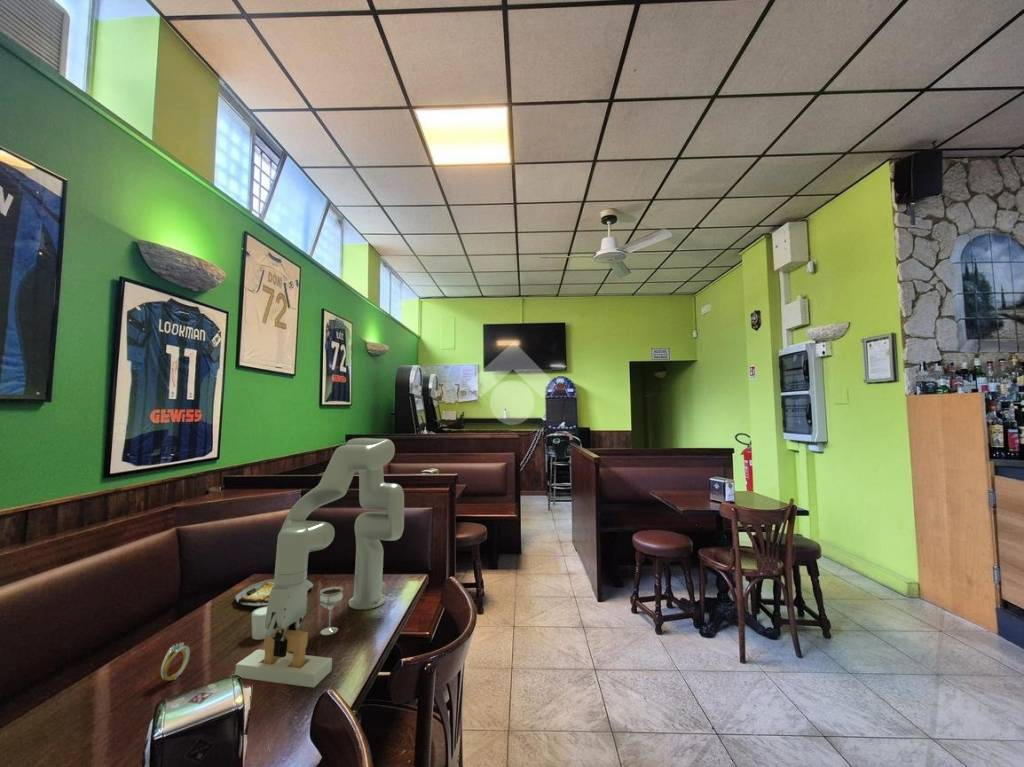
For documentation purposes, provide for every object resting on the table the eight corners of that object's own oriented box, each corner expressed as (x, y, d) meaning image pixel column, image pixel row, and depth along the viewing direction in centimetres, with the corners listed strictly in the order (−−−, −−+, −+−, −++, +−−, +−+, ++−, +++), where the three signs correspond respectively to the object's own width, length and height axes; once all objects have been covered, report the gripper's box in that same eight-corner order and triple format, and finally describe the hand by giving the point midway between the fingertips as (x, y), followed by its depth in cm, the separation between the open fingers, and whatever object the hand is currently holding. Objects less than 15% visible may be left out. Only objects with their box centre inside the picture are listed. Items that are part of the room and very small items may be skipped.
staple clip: (271, 660, 105) (273, 628, 106) (305, 664, 104) (308, 631, 105) (262, 667, 102) (265, 633, 103) (297, 671, 101) (300, 637, 102)
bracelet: (181, 670, 104) (185, 637, 105) (192, 671, 103) (195, 638, 104) (154, 687, 97) (158, 651, 98) (165, 688, 97) (169, 652, 97)
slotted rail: (256, 661, 108) (257, 649, 109) (331, 670, 105) (332, 658, 105) (234, 677, 101) (236, 664, 102) (314, 687, 98) (314, 674, 98)
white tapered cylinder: (263, 642, 118) (265, 616, 119) (243, 639, 119) (246, 614, 120) (281, 630, 125) (283, 606, 125) (262, 628, 126) (264, 604, 127)
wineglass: (325, 638, 120) (328, 596, 122) (312, 632, 124) (315, 591, 125) (345, 629, 126) (348, 589, 127) (332, 623, 129) (335, 584, 131)
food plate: (285, 612, 137) (286, 601, 138) (218, 610, 138) (219, 600, 138) (321, 584, 162) (322, 575, 162) (265, 582, 163) (265, 573, 163)
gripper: (299, 566, 114) (294, 635, 112) (253, 587, 98) (246, 669, 96) (323, 567, 113) (318, 638, 111) (280, 590, 97) (274, 672, 95)
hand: (285, 651), depth 103 cm, fingers closed on staple clip, 3 cm apart
